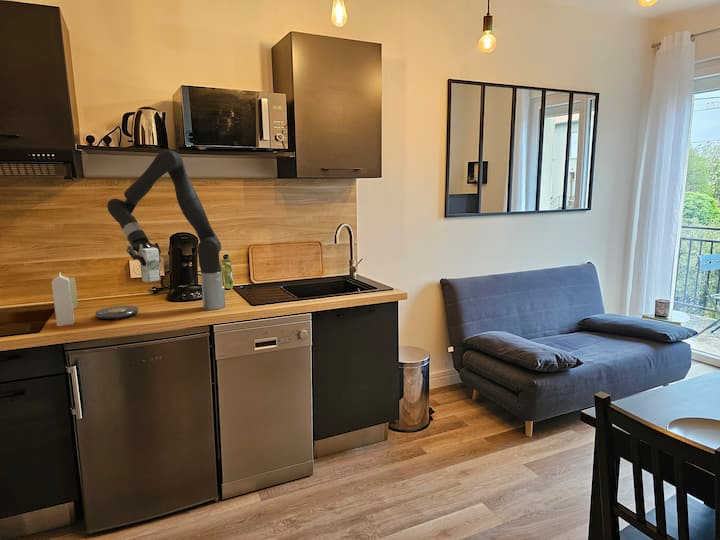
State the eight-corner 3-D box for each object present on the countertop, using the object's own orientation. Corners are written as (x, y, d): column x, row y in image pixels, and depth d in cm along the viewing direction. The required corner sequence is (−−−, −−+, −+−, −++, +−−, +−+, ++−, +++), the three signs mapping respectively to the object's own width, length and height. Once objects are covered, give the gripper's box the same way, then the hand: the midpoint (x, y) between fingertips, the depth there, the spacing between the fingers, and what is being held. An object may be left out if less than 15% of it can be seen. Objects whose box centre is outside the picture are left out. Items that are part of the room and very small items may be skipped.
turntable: (126, 307, 228) (126, 303, 228) (145, 312, 218) (145, 308, 218) (88, 314, 215) (88, 311, 215) (107, 321, 205) (106, 317, 205)
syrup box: (154, 279, 216) (151, 247, 214) (161, 280, 212) (158, 247, 210) (141, 281, 212) (138, 248, 209) (148, 283, 208) (145, 249, 206)
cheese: (76, 317, 216) (72, 284, 213) (50, 320, 212) (46, 286, 209) (78, 306, 235) (75, 276, 233) (55, 309, 231) (51, 278, 228)
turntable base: (124, 311, 225) (124, 309, 225) (137, 315, 218) (137, 312, 218) (97, 316, 216) (97, 314, 215) (110, 321, 208) (110, 318, 208)
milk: (57, 326, 202) (50, 274, 198) (58, 322, 207) (51, 272, 203) (73, 324, 204) (67, 272, 200) (74, 320, 210) (68, 270, 206)
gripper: (121, 230, 207) (138, 260, 202) (153, 228, 218) (170, 256, 213) (116, 242, 211) (133, 272, 206) (148, 239, 222) (164, 267, 217)
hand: (152, 263), depth 210 cm, fingers closed on syrup box, 5 cm apart
